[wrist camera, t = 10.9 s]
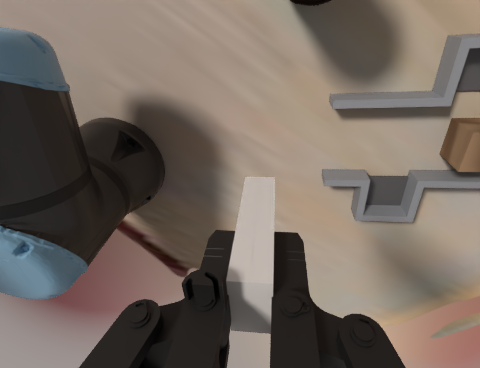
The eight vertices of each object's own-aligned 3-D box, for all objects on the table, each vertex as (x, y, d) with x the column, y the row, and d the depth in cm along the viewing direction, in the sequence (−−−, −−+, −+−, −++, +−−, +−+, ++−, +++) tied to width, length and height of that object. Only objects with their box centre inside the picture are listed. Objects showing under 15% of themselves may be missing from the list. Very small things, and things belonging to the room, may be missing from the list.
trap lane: (318, 207, 46) (320, 219, 43) (335, 41, 33) (339, 44, 31) (477, 211, 42) (489, 224, 40) (562, 29, 30) (588, 31, 27)
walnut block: (439, 153, 39) (458, 171, 34) (451, 118, 36) (473, 132, 32) (480, 153, 38) (504, 172, 34) (495, 117, 35) (524, 132, 31)
